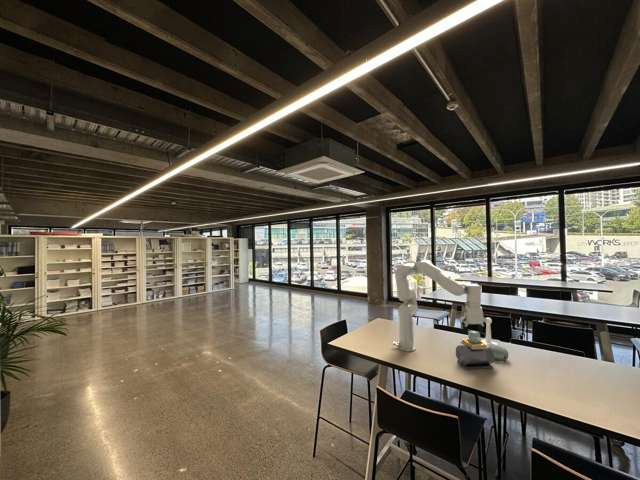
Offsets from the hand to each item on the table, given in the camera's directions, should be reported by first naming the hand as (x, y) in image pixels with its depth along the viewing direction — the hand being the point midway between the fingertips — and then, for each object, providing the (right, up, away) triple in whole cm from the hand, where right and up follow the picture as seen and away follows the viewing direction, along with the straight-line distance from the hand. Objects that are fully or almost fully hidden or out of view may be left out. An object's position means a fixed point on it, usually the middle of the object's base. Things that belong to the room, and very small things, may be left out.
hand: (472, 332), depth 161 cm
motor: (+1, -20, -1) cm, 20 cm away
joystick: (+29, -21, +31) cm, 47 cm away
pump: (+1, -7, -2) cm, 7 cm away
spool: (+20, -20, +9) cm, 30 cm away
